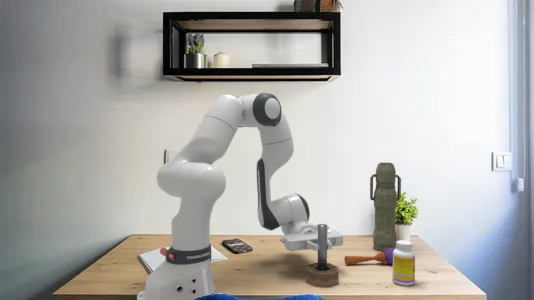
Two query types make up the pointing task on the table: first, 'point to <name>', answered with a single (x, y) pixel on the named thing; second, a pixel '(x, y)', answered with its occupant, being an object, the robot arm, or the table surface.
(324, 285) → the bead
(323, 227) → the grey metal peg
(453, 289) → the table surface
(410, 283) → the supplement bottle
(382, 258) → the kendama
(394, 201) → the thermos
